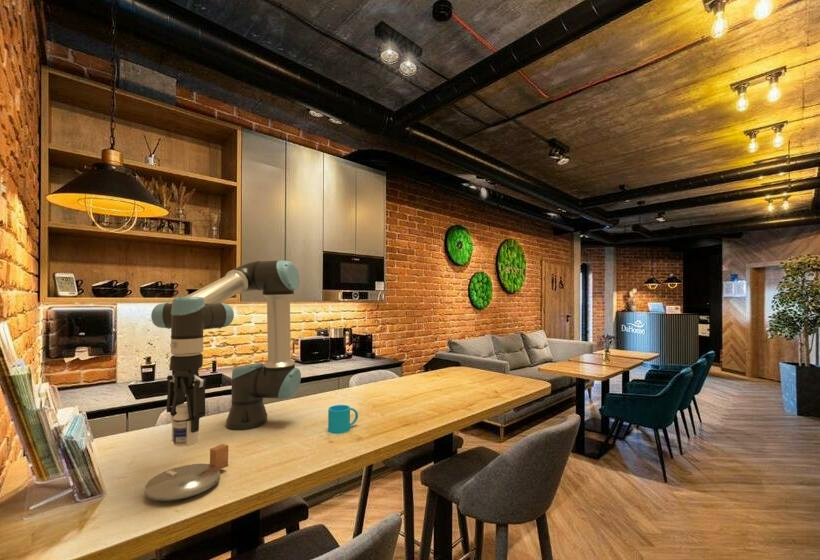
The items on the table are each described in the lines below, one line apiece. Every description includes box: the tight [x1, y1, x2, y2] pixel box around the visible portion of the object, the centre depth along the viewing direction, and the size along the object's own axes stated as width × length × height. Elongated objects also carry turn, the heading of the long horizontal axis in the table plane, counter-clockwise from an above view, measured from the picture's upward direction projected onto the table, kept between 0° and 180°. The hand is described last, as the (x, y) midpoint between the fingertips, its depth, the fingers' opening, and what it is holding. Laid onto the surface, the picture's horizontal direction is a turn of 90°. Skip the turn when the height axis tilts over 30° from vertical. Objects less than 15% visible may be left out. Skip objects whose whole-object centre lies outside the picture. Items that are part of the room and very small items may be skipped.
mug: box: [327, 404, 359, 434], centre depth 143 cm, size 12×8×8 cm
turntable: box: [144, 443, 229, 502], centre depth 100 cm, size 17×20×6 cm
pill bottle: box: [172, 402, 194, 447], centre depth 99 cm, size 6×6×10 cm
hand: (184, 441), depth 99 cm, fingers closed on pill bottle, 6 cm apart
